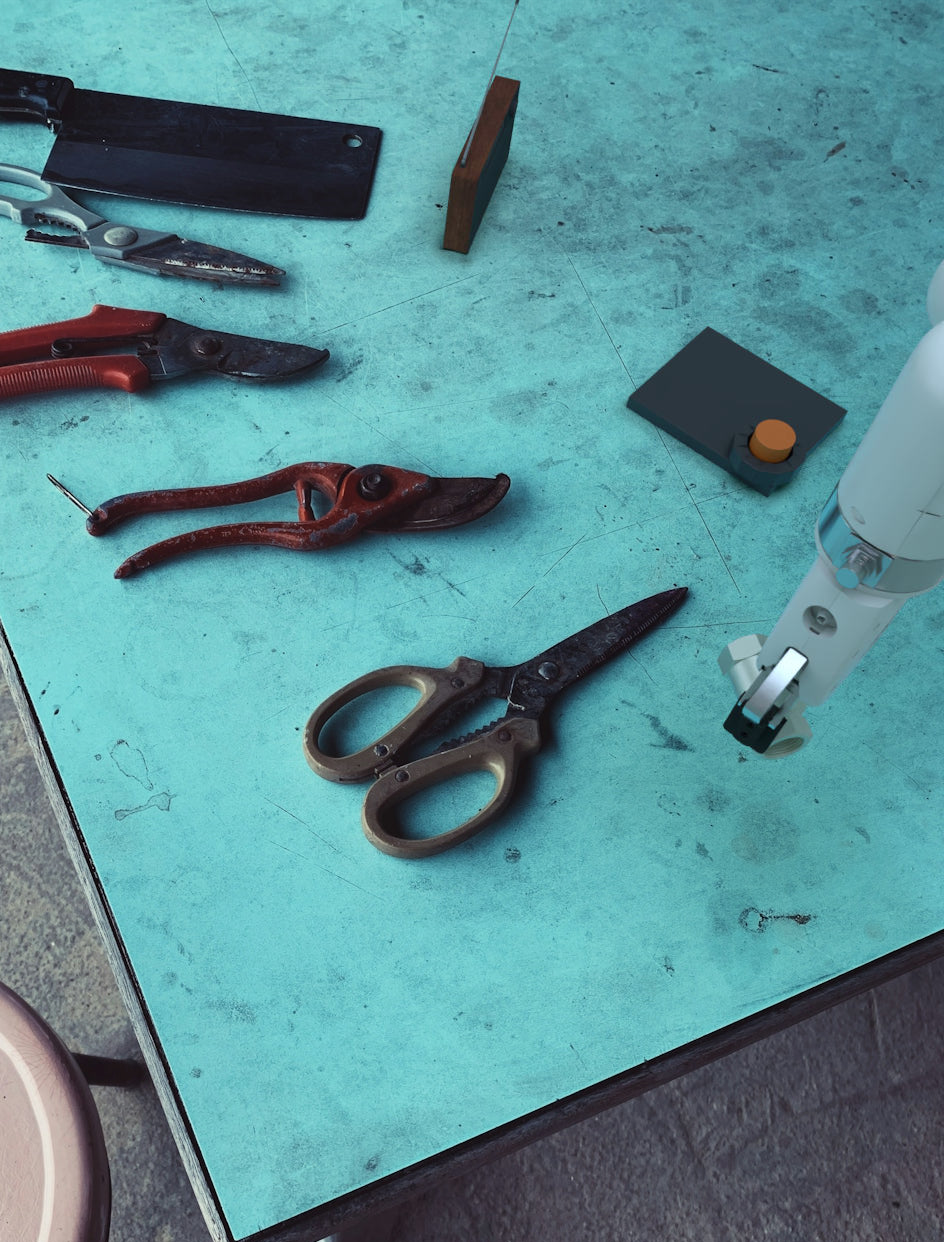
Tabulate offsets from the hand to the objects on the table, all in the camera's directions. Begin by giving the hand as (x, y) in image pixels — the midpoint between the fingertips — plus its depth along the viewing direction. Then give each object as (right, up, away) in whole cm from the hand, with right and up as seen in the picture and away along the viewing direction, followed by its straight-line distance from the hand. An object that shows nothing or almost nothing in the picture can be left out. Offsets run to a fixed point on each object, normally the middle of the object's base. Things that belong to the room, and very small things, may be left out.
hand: (783, 692), depth 81 cm
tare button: (+9, +25, +27) cm, 38 cm away
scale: (+7, +29, +33) cm, 44 cm away
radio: (-15, +56, +46) cm, 74 cm away
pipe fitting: (0, -1, +3) cm, 3 cm away
